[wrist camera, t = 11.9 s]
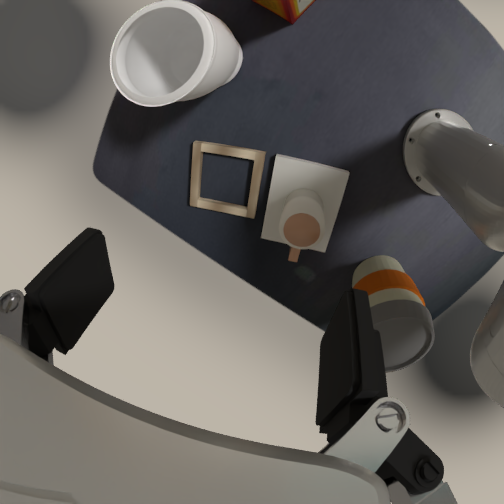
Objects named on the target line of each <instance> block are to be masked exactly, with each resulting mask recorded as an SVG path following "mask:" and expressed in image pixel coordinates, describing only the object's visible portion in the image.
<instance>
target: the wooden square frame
mask: <svg viewBox="0 0 504 504" xmlns="http://www.w3.org/2000/svg"><path fill="white" fill-rule="evenodd" d="M203 152H209V153H215V154H222V155H228V156H234V157H240V158H245V159H251V160H254V167H253V174H252V180H251V187H250V193H249V200H248V207H246V206H241V205H236V204H232V203H227V202H221V201H216V200H211V199H206V198H201V197H200V186H201V172H202V159H203ZM265 154H266V152H265V151H259V150H254V149H248V148H242V147H236V146H230V145H224V144H217V143H210V142H203V141H195V142H193V154H192V170H191V190H190V206H194V207H199V208H204V209H209V210H214V211H219V212H224V213H229V214H234V215H239V216H243V217H248V218H253V219H254V217H255V214H256V208H257V202H258V196H259V190H260V184H261V178H262V172H263V166H264V160H265Z"/></svg>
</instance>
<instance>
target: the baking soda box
mask: <svg viewBox="0 0 504 504" xmlns="http://www.w3.org/2000/svg"><path fill="white" fill-rule="evenodd" d="M252 1H254V2H255V3H257V4H259V5H261V6H263V7H265V8H266V9H268V10H270V11H272V12H273V13H275V14H277V15H278V16H280V17H282V18H283V19H285V20H286V21H288V22H290V23H291V24H294V23H295V21H296V20H297V19H298V18H299V17H300V16H301V15H302V14H303V13H304V12H305V11H306V10H307V9H308V8H309V7H310V6H311V5H312V4H313V3H314V2H315V1H316V0H252Z"/></svg>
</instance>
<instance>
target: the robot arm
mask: <svg viewBox="0 0 504 504" xmlns="http://www.w3.org/2000/svg"><path fill="white" fill-rule="evenodd" d="M435 113H436V116H435ZM409 138H411V141H409ZM403 159H404V164H405V167H406V170H407V172H408V174H409V176H410V177H411V179H412V180H413V181H414V182H415V184H416V185H417V186H419V187H420V188H421V189H422V190H424V191H425V192H427V193H429V194H432V195H436V196H442V197H443V198H444V199H445V200H446V201H447V202H448V203H449V204H450V205H451V207H452V208H453V209H454V210H455V211H456V212H457V213H458V215H459V216H460V217H461V218H462V219H463V220H464V222H465V223H466V224H467V225H468V226H469V228H470V229H471V230H472V231H473V232H474V234H475V235H476V236H477V237H478V238H479V239H480V240H481V242H483V243H484V244H485V245H486V246H488V247H489V248H492V249H494V250H496V251H501V252H504V146H503V145H501V144H499V143H497V142H495V141H493V140H491V139H489V138H487V137H485V136H483V135H481V134H478V133H476V132H474V131H473V129H472V127H471V126H470V125H469V123H468V122H467V121H466V120H465V119H464V118H463V117H462V116H460V115H459V114H457V113H455V112H452V111H450V110H446V109H431V110H428V111H426V112H423V113H421V114H420V115H419V116H418V117H416V118H415V119H414V121H413V122H412V123H411V124H410V126H409V128H408V130H407V131H406V134H405V138H404V142H403ZM417 176H418V178H416V177H417ZM24 289H25V291H26V293H27V294H26V295H25V296H24V295H23V293H22V292H21V291H20V290H10V291H7V292H5V293H4V294H3V295H2V296H1V297H0V504H391V503H390V502H392V504H457V502H456V500H455V498H454V495H453V493H452V492H451V490H450V487H449V485H448V484H447V482H445V483H443V481H442V478H443V474H444V466H443V463H442V461H441V459H440V458H439V457H438V456H437V455H436V454H435V453H434V452H433V451H432V450H431V449H430V448H429V447H428V446H427V445H425V444H424V442H423V441H422V440H420V439H419V438H418V437H417V435H415V434H414V433H413V432H412V431H411V430H410V429H409V428H408V427H409V425H410V414H409V411H408V409H407V407H406V406H405V405H404V404H403V403H402V402H401V401H399V400H398V399H396V398H392V397H388V393H387V383H386V374H385V365H384V357H383V350H382V343H381V336H380V333H379V331H378V330H374V328H373V322H372V315H371V309H370V303H369V297H368V293H367V291H364V290H359V289H355V288H351V289H350V291H345V292H344V294H343V296H342V298H341V300H340V303H339V305H338V307H337V309H336V311H335V313H334V315H333V317H332V319H331V321H330V323H329V325H328V327H327V329H326V331H325V334H324V335H323V338H322V341H321V345H320V365H319V383H318V398H317V413H316V425H319V426H320V432H319V433H325V434H327V441H328V442H329V443H328V444H327V445H326V446H325V447H324V448H323V449H322V450H320V451H319V452H318V453H316V452H309V451H303V450H297V449H292V448H285V447H279V446H274V445H268V444H263V443H258V442H253V441H249V440H243V439H240V438H235V437H230V436H227V435H223V434H219V433H215V432H211V431H207V430H204V429H200V428H197V427H194V426H190V425H187V424H184V423H181V422H178V421H175V420H172V419H169V418H166V417H163V416H160V415H158V414H155V413H152V412H150V411H147V410H144V409H142V408H139V407H136V406H134V405H132V404H129V403H127V402H125V401H122V400H120V399H118V398H116V397H113V396H111V395H109V394H107V393H105V392H103V391H101V390H98V389H96V388H94V387H92V386H90V385H88V384H86V383H84V382H82V381H80V380H79V379H77V378H75V377H73V376H71V375H69V374H67V373H66V372H64V371H62V370H60V369H59V368H57V367H55V366H54V365H53V353H52V350H53V349H54V347H55V348H56V350H58V351H59V352H61V353H63V354H65V355H66V353H67V352H68V350H70V349H72V348H73V347H74V346H75V344H76V343H77V341H78V340H79V338H80V337H81V335H82V334H83V332H84V331H85V330H86V328H87V327H88V325H89V324H90V322H91V321H92V320H93V318H94V317H95V316H96V314H97V313H98V311H99V310H100V309H101V307H102V306H103V305H104V303H105V302H106V300H107V299H108V298H109V296H110V295H111V294H112V292H113V290H114V281H113V277H112V273H111V267H110V263H109V258H108V252H107V247H106V242H105V237H104V235H103V234H102V232H101V231H100V230H97V229H93V228H87V229H85V230H84V231H83V232H82V233H81V234H79V235H78V236H77V237H76V238H75V239H74V240H73V241H72V242H71V243H70V244H68V245H67V246H66V247H65V248H64V249H63V250H62V251H61V252H60V253H59V254H58V255H57V256H56V257H55V258H54V259H53V260H52V261H51V262H49V264H47V265H46V267H44V269H42V271H40V273H39V274H38V275H37V276H36V277H35V278H34V279H33V280H32V281H31V282H30V283H29V284H28V285H27V286H26V287H25V288H24ZM470 363H471V368H472V371H473V374H474V377H475V379H476V381H477V382H478V384H479V385H480V387H481V388H482V390H483V391H484V392H485V393H486V394H487V395H488V396H489V397H490V398H491V399H492V400H493V401H494V402H496V403H497V404H498V405H500V406H501V407H503V408H504V281H503V283H502V285H501V287H500V289H499V291H498V293H497V295H496V297H495V299H494V301H493V302H492V304H491V306H490V308H489V310H488V311H487V313H486V315H485V317H484V319H483V320H482V322H481V324H480V326H479V328H478V330H477V331H476V334H475V336H474V339H473V341H472V345H471V351H470Z"/></svg>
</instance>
